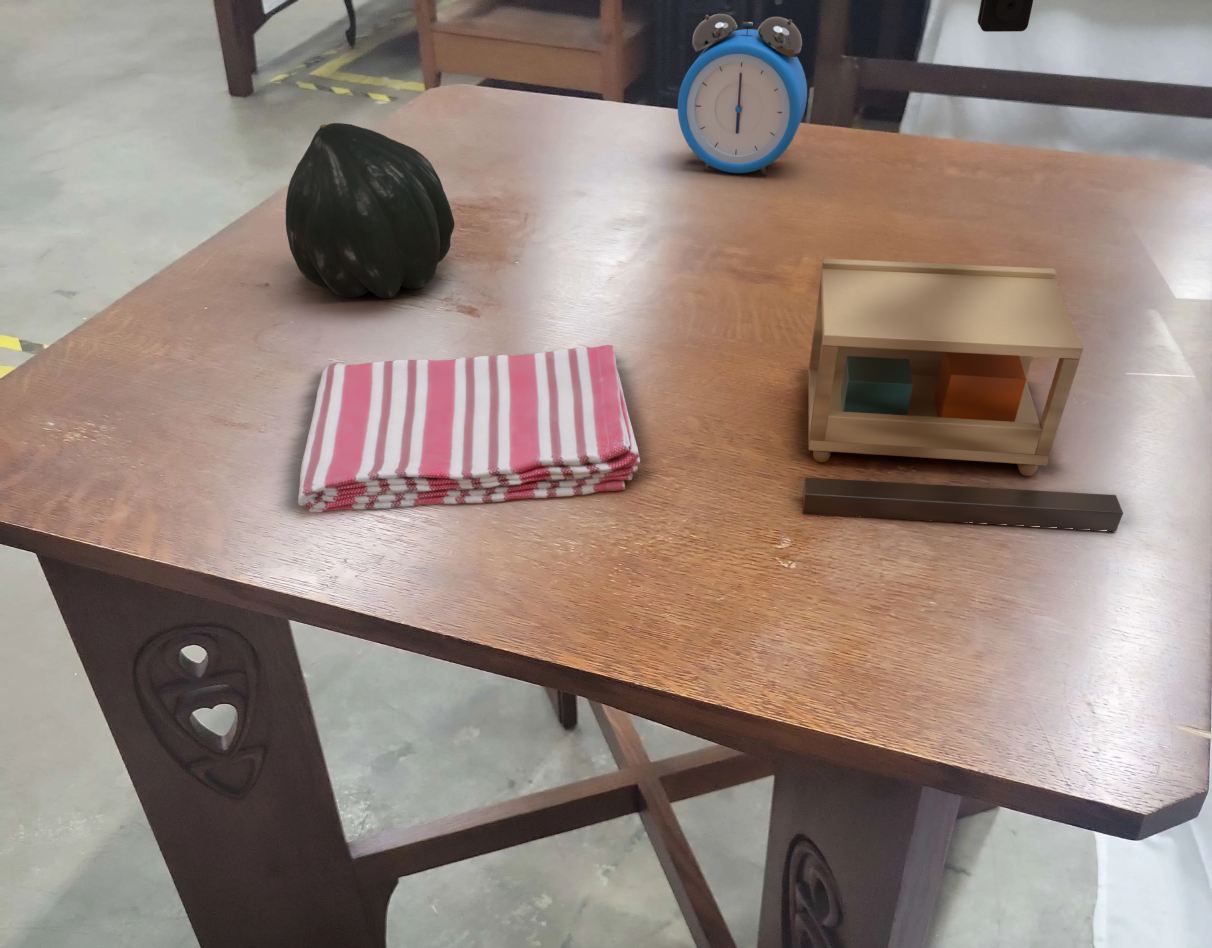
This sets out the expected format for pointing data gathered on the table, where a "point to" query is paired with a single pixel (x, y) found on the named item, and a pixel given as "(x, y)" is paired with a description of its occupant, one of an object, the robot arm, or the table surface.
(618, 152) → the table surface
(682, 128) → the alarm clock
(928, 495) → the edge strip
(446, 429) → the dish towel
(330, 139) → the squash
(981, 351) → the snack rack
